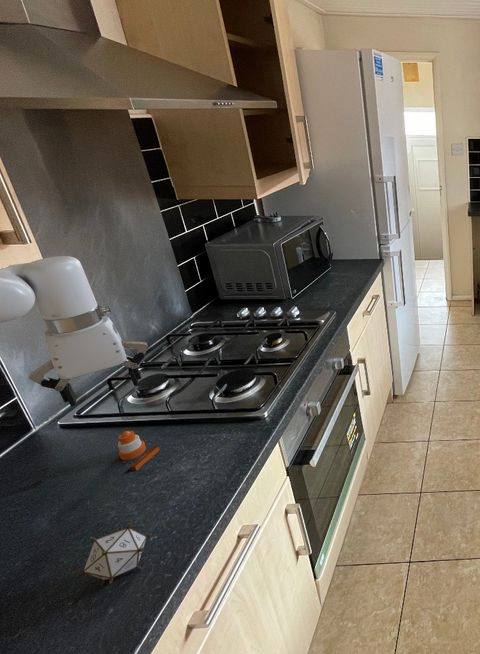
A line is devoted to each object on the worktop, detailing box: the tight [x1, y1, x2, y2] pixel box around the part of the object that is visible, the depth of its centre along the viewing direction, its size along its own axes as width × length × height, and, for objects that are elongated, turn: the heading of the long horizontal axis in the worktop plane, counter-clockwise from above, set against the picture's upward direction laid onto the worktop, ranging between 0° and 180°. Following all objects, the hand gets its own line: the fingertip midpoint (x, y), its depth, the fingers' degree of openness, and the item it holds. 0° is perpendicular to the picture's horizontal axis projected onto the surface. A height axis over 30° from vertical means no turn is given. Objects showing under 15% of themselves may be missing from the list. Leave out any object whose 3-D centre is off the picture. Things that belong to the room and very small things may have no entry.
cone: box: [117, 430, 160, 471], centre depth 93 cm, size 6×6×8 cm
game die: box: [75, 522, 153, 586], centre depth 70 cm, size 9×8×10 cm
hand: (106, 392), depth 87 cm, fingers open, 9 cm apart
